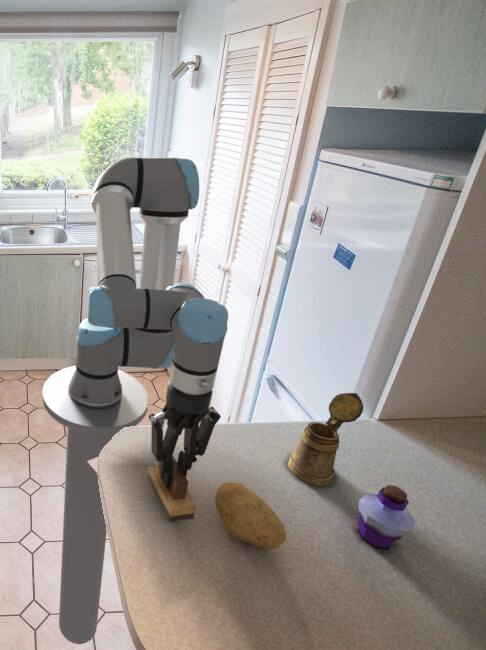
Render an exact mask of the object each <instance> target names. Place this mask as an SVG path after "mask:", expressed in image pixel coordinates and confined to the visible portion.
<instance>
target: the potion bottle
mask: <svg viewBox="0 0 486 650" xmlns="http://www.w3.org/2000/svg"><path fill="white" fill-rule="evenodd" d="M409 502H410V501H409V499H408V494H407V493H406V491H405V490H404V489H402V488H400V487H398V486H397V485H391V484H388V485H386V486H385V487H384V486H383V487H382V488H381V489H380V490H379V491H378V492H377V493H369V492H367V493H365V494H364V495H363V496H362V497H361V498H360V499H359V500H358V510H357V514H358V516H359V518H358V528H357V532H358V534H359V536H360V538H361V540H362V541H364V542H365V543H367V544H368V545H370V546H371V547H373V548H374V549H379V550H387V551H388V550H390V548H391V547H392V546H393V545H394V543H395V542H396V541H400V540H401V539H402V538H403V537H405V536H406V535H407V534H408V533H409V532H410V531H411V530H412V528H413V527H414V526H415V524H417V521H416V520H415V518H414V517H413V515H412V514H411V512H410V511H409V510H408V508H407V507H408V505H409Z"/></svg>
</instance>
